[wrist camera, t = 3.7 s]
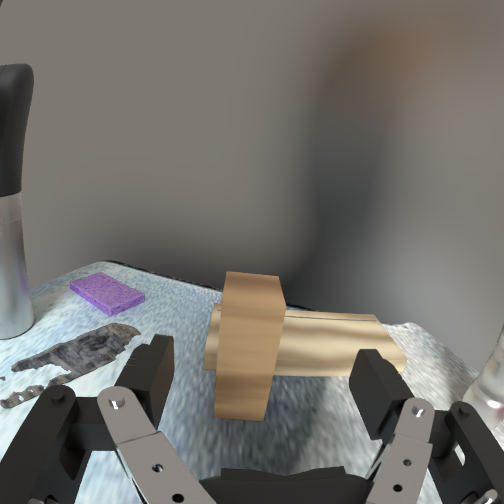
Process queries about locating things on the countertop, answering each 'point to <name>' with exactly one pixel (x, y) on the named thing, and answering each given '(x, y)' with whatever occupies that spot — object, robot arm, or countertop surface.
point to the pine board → (318, 343)
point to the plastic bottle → (489, 387)
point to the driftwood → (75, 357)
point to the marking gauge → (247, 345)
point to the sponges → (107, 293)
